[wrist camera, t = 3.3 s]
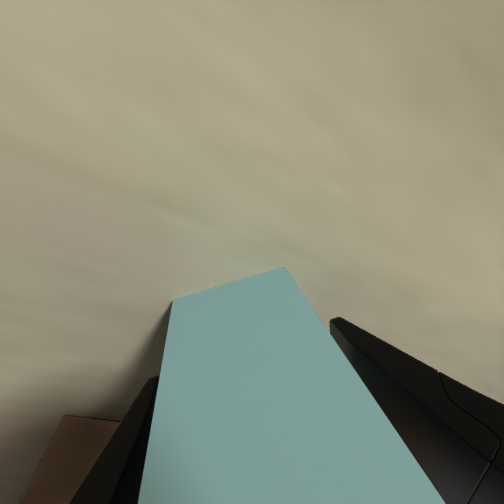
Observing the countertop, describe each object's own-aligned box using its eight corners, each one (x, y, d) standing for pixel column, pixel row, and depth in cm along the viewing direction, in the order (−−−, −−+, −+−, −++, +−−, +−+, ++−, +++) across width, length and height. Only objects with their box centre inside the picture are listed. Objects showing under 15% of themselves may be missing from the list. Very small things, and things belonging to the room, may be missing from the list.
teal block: (284, 266, 9) (446, 505, 3) (297, 343, 12) (411, 578, 5) (173, 299, 9) (114, 643, 3) (207, 373, 11) (217, 662, 5)
